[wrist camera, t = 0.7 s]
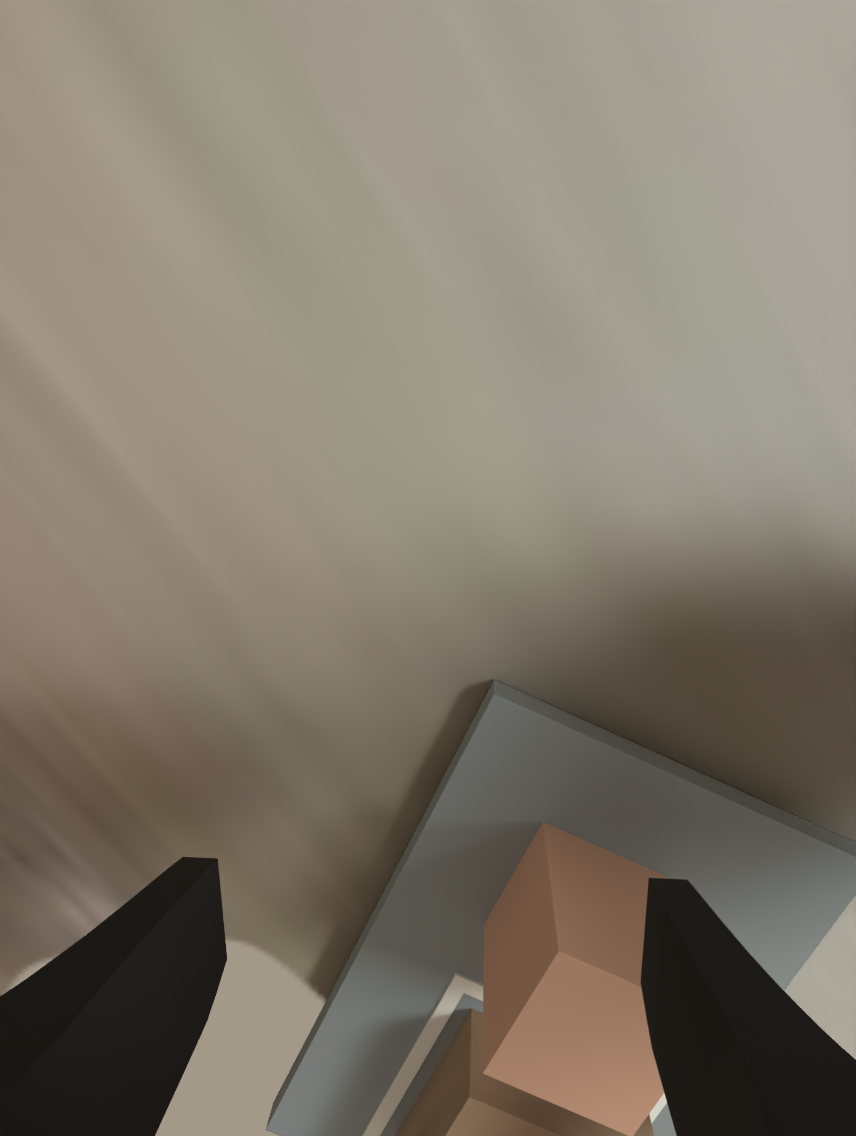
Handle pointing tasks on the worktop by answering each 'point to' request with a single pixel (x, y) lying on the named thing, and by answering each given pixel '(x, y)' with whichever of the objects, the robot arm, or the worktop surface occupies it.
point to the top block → (571, 982)
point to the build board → (487, 862)
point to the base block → (489, 1100)
